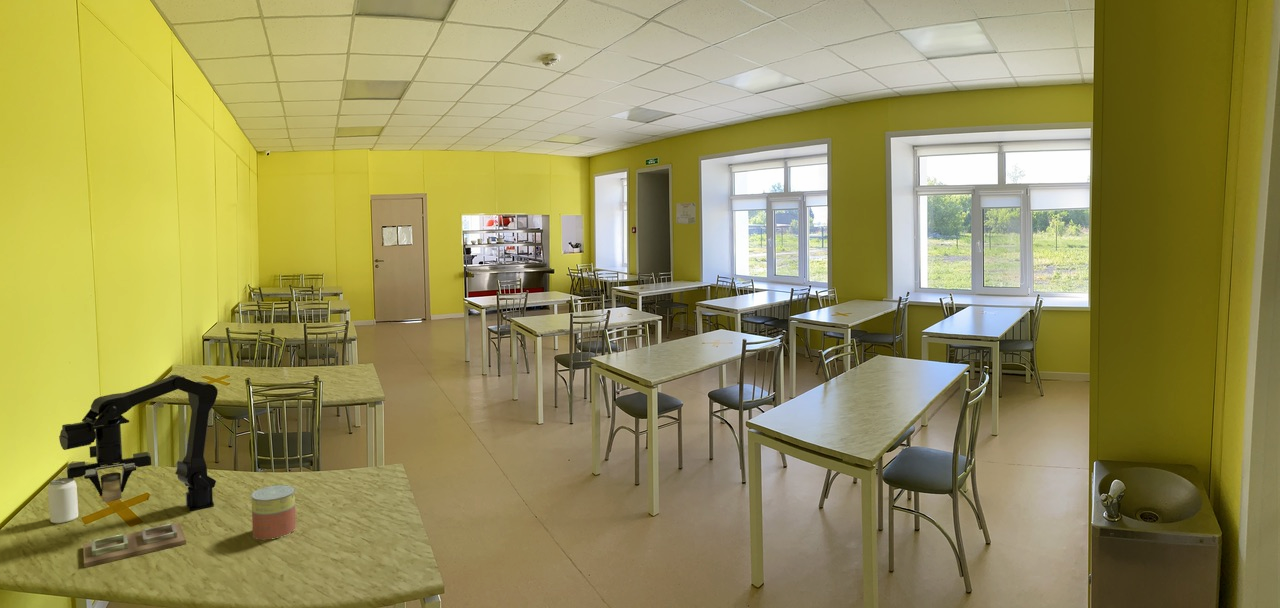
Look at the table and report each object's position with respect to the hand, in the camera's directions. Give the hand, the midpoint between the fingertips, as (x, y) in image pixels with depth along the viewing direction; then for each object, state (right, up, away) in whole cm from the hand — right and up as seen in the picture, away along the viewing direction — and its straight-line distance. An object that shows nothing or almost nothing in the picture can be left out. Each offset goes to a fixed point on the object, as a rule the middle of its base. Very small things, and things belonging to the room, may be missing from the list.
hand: (111, 493), depth 192 cm
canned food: (+45, -13, +4) cm, 47 cm away
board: (+12, -13, -7) cm, 19 cm away
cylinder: (0, -2, 0) cm, 2 cm away
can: (-21, -10, +8) cm, 25 cm away
